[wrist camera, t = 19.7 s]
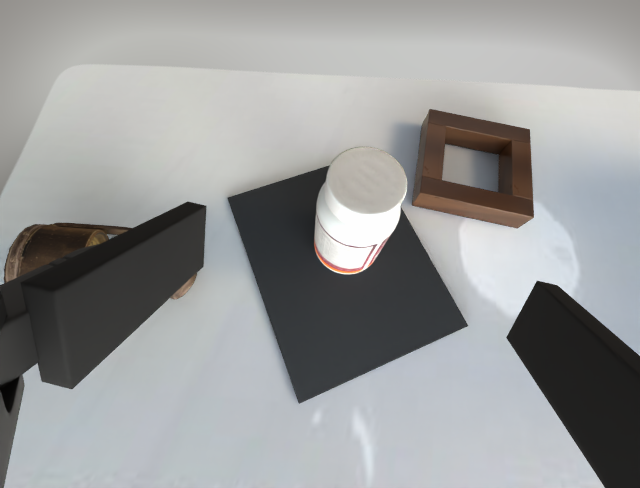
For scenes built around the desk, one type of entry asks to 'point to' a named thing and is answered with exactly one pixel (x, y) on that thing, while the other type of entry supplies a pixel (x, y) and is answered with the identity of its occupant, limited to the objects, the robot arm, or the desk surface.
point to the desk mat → (337, 290)
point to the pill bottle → (358, 208)
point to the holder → (469, 201)
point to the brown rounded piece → (59, 247)
